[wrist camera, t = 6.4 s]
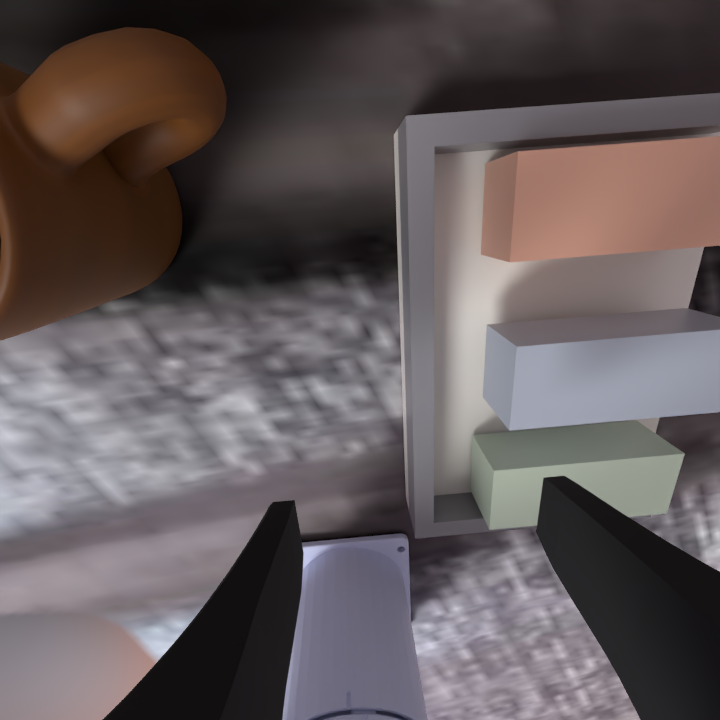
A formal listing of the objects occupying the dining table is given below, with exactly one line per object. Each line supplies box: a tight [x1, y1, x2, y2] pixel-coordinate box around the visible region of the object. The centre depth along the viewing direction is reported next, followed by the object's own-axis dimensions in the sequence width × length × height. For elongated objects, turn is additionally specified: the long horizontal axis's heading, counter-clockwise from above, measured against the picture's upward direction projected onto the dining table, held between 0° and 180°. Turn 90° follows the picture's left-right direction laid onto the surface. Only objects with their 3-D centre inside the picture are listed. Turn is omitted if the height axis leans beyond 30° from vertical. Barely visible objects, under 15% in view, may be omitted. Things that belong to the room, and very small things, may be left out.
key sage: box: [470, 420, 685, 530], centre depth 19 cm, size 4×9×3 cm, turn 94°
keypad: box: [394, 93, 720, 539], centre depth 18 cm, size 20×14×3 cm
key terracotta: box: [481, 136, 720, 262], centre depth 14 cm, size 4×9×3 cm, turn 94°
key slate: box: [483, 308, 720, 431], centre depth 16 cm, size 4×9×3 cm, turn 94°
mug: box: [0, 27, 227, 340], centre depth 12 cm, size 12×8×9 cm, turn 111°
